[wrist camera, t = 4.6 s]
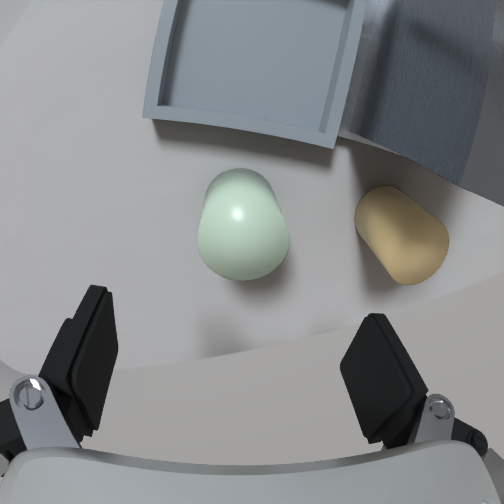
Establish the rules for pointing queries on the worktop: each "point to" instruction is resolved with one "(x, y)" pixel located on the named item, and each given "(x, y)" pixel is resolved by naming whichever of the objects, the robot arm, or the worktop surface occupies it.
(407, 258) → the tan rounded capsule
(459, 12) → the panel
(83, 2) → the worktop surface
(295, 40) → the tray
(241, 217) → the mint green rounded cylinder
